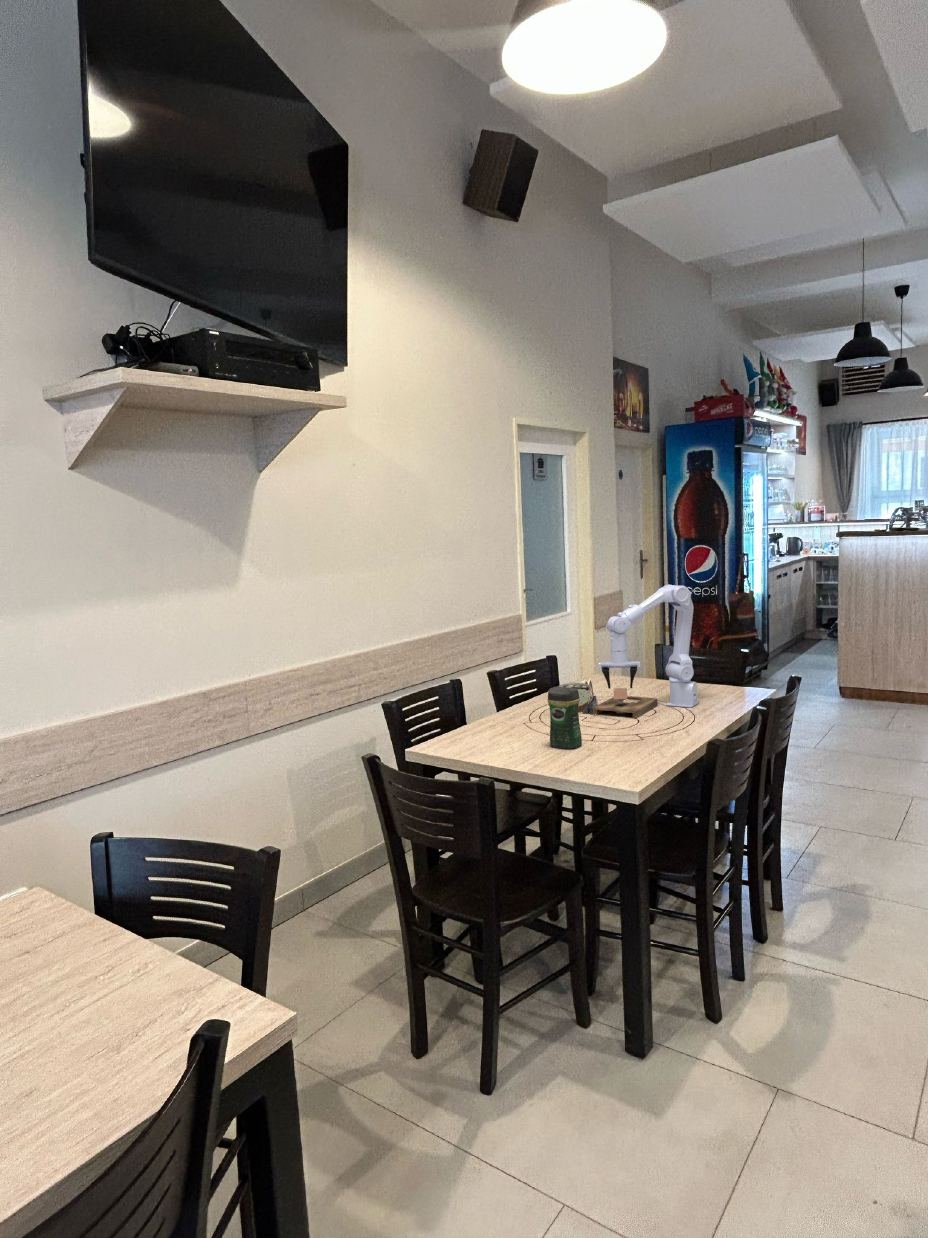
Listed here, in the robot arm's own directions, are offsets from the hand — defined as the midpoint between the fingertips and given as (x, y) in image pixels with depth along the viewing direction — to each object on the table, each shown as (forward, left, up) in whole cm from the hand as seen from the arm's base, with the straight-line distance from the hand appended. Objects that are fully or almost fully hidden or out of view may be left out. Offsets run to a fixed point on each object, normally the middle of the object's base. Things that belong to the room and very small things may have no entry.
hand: (620, 687), depth 283 cm
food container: (+17, +3, -9) cm, 20 cm away
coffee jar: (-1, +45, -9) cm, 46 cm away
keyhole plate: (0, -4, -9) cm, 10 cm away
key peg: (0, 0, -9) cm, 9 cm away
